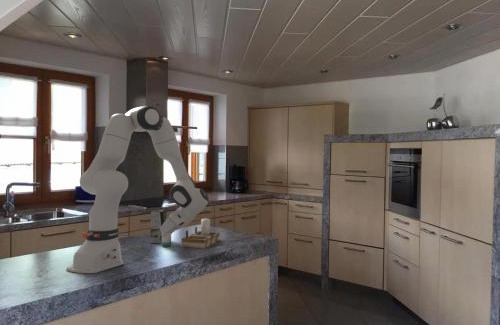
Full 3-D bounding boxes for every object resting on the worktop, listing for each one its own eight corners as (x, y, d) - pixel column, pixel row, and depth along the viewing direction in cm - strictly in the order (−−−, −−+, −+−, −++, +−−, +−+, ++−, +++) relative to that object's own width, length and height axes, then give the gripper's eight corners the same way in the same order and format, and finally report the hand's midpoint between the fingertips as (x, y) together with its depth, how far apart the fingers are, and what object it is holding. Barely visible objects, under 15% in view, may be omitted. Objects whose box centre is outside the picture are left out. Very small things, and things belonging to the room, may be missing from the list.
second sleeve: (207, 237, 206) (207, 220, 205) (199, 237, 207) (199, 219, 207) (211, 235, 210) (211, 218, 210) (203, 235, 212) (203, 218, 211)
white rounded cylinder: (168, 246, 193) (168, 227, 193) (159, 245, 194) (159, 227, 194) (173, 244, 197) (173, 226, 197) (164, 243, 199) (164, 225, 199)
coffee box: (162, 243, 203) (162, 211, 203) (150, 243, 203) (150, 211, 203) (166, 239, 212) (166, 209, 212) (154, 239, 212) (154, 209, 212)
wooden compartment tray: (203, 248, 192) (203, 234, 192) (181, 246, 196) (181, 232, 196) (219, 240, 211) (219, 227, 211) (198, 238, 215) (198, 225, 215)
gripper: (189, 208, 203) (171, 226, 207) (169, 214, 184) (150, 233, 187) (196, 218, 202) (179, 235, 205) (177, 224, 183) (158, 243, 186)
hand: (165, 234), depth 196 cm, fingers closed on white rounded cylinder, 5 cm apart
